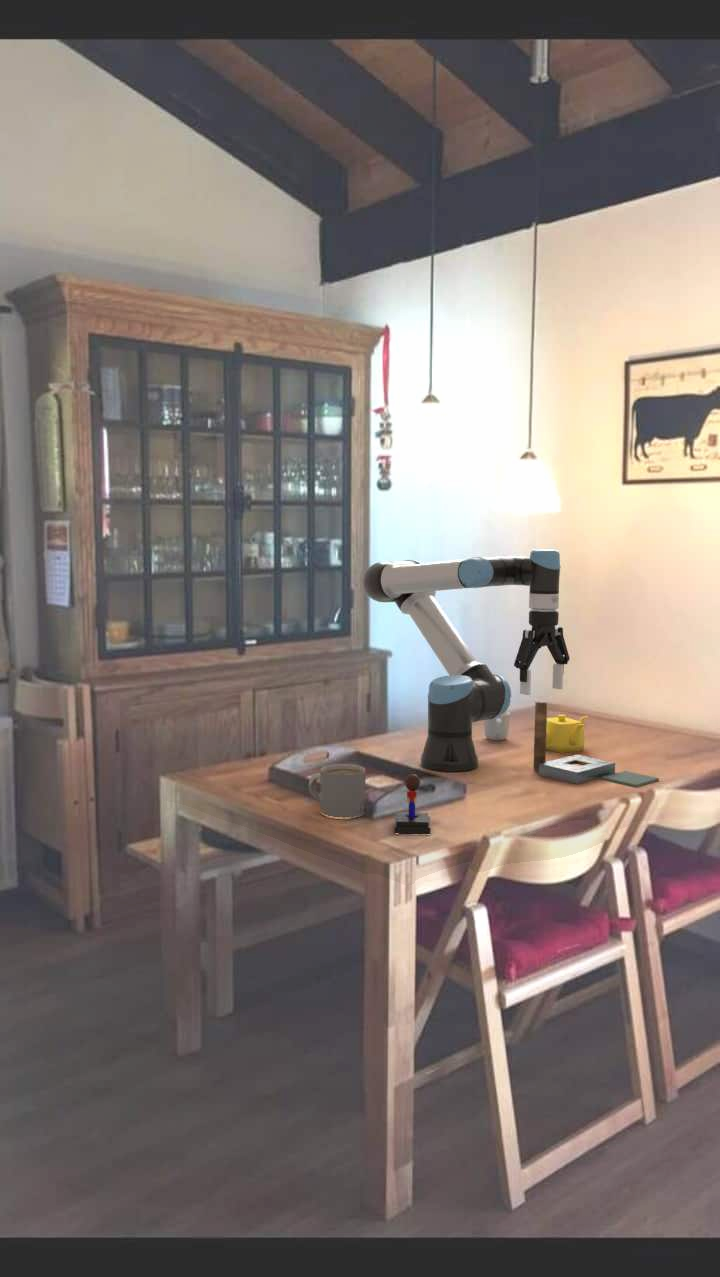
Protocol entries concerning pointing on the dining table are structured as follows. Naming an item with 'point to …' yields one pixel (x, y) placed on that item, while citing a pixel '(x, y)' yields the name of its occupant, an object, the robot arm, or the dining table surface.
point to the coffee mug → (339, 789)
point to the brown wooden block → (540, 734)
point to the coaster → (630, 778)
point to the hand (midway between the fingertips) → (541, 691)
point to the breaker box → (576, 769)
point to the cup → (497, 727)
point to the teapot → (565, 734)
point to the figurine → (412, 812)
